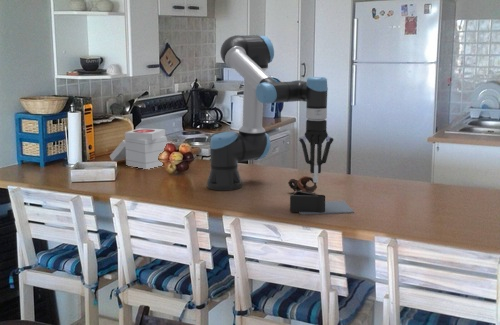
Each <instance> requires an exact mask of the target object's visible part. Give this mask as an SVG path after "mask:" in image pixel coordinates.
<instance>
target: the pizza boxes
mask: <svg viewBox="0 0 500 325" xmlns="http://www.w3.org/2000/svg"><path fill="white" fill-rule="evenodd" d="M166 144H167V145H168V137H167V136H166V129H165V128H164V129H163V128H161V129H160V128H142V127H141V128H140V127H139V128H135V129H132V130H129V131H125V132H124V139H123V140H122V141H120V143H119V144H117V146H116V148H115V149H114V150H113V151H112V152H111V153H110V155H109V158H110V160H111V161H112V162H114V161H120V160H125V165H128V166H133V167H138V168H143V169H142V170H144V169H148V170H151V169H150V168H153V169H155V168H154V167H157V168H159V167H158V166H162V165H163V163H162V162H160V161H159V160H158V156H159V154H160V153H162V152H163V151H164V148H165V146H166ZM133 167H132V168H133ZM162 167H163V166H162ZM138 168H137V169H138Z"/></svg>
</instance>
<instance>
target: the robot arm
mask: <svg viewBox="0 0 500 325" xmlns="http://www.w3.org/2000/svg"><path fill="white" fill-rule="evenodd" d="M219 51H220V57H221V60H222V61H223V63H224V64H225V66H227V68H229V69H234V70H235V71H236V72H237V73H238V74H239V75H240V76H241V77H242V78H243V99H242V101H243V105H242V126H241V127H240V128H239V129H238V133H237V132H235V131H224V132H219V133H215V134H213V135H212V136H211V137H210V144H209V148H210V149H209V150H210V154H209V155H210V171H209V174H208V178H207V181H206V186H207V187H206V188H208V189H210V190H214V191H232V190H233V191H234V190H237V189H241V188H242V186H243V181H242V178H241V176H240V175H241V174H240V172H239V170H238V169H239V168H238V165H239V164H238V162H244V161H245V162H246V161H257V160H260V159H261V160H262V159H264V158H266V157H267V156H268V155H269V153H270V149H271V139H270V136H269V134H268V133H266V129H265V128H264V127H263V116H264V114H263V113H264V112H263V111H264V104H273V103H274V104H275V103H277V104H278V103H288V102H289V103H290V102H304V103H305V102H306V107H305V108H306V113H305V114H306V115H305V117H306V121H305V132H304V135H303V136H302V137H299V138H298V141H299V143H300V144H301V147H302V151H303V156H304V161H305V163H306V164H308V165H309V166H310V167H309V168H310V169H309V171H310V174H312V178H313V182H314V183H316V184H317V183H319V174H321V173H322V165H323V164H326V163H327V159H328V156H329V152H330V149H331V145H332V144H333V142H334V138H333V137H331V136H330V135H329V134H328V132H327V129H328V128H327V125H328V124H327V118H328V117H327V116H328V113H327V111H328V90H329V88H328V78H326V77H324V76H310V77H307V78H306V81H304V80H300V79H299V80H298V79H297V80H291V81H276V80H275V79H274V78H273V77H272V76H270V75H269V74H268V73H267V72H266V71H267V69H269V64H270V63H272V62H273V60H274V57H275V49H274V45H273V42H272V40H271V39H270V38H269V37H268V36H266V35H258V34H256V35H255V34H252V35H249V34H248V35H233V36H230V37H228V38H226V39H225V40H224V41H223V43H222V45H221V47H220V50H219ZM306 141H308V143H309V146H310V148H309V152H310V153H308V149H307V144H306ZM325 141H326V143H325V146H324V149H323V154H322V147H323V143H324V142H325ZM315 148H316V149H315ZM315 151H316V152H315ZM315 153H316V163H315ZM309 155H310V156H309ZM314 183H313V184H314Z"/></svg>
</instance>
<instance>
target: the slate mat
mask: <svg viewBox="0 0 500 325" xmlns="http://www.w3.org/2000/svg"><path fill="white" fill-rule="evenodd" d="M298 213H299V215H322V214H323V215H328V214H329V215H330V214H332V215H334V214H355V211H354V210H353V209H352V208H351V206H349V204H348V203H347V202H346V201H345V200H328V201H327V200H325V212H323V213H320V212H298Z"/></svg>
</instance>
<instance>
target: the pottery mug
mask: <svg viewBox="0 0 500 325" xmlns="http://www.w3.org/2000/svg"><path fill="white" fill-rule="evenodd" d="M309 182H312V184H313V185H312V186H311V185H310V186H308V185H307V183H309ZM287 184H288V186H289V188H290V189H292V190H293V192H294V193H295V192H297V191H303V192H308V193H314V192H315V191H316V190H317V188H318V186H317V183H314V182H313V177H311V176H308V175H307V176H301V177H300V178H298V180H297V179H295V178H290V179H289V180H288V183H287Z"/></svg>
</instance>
